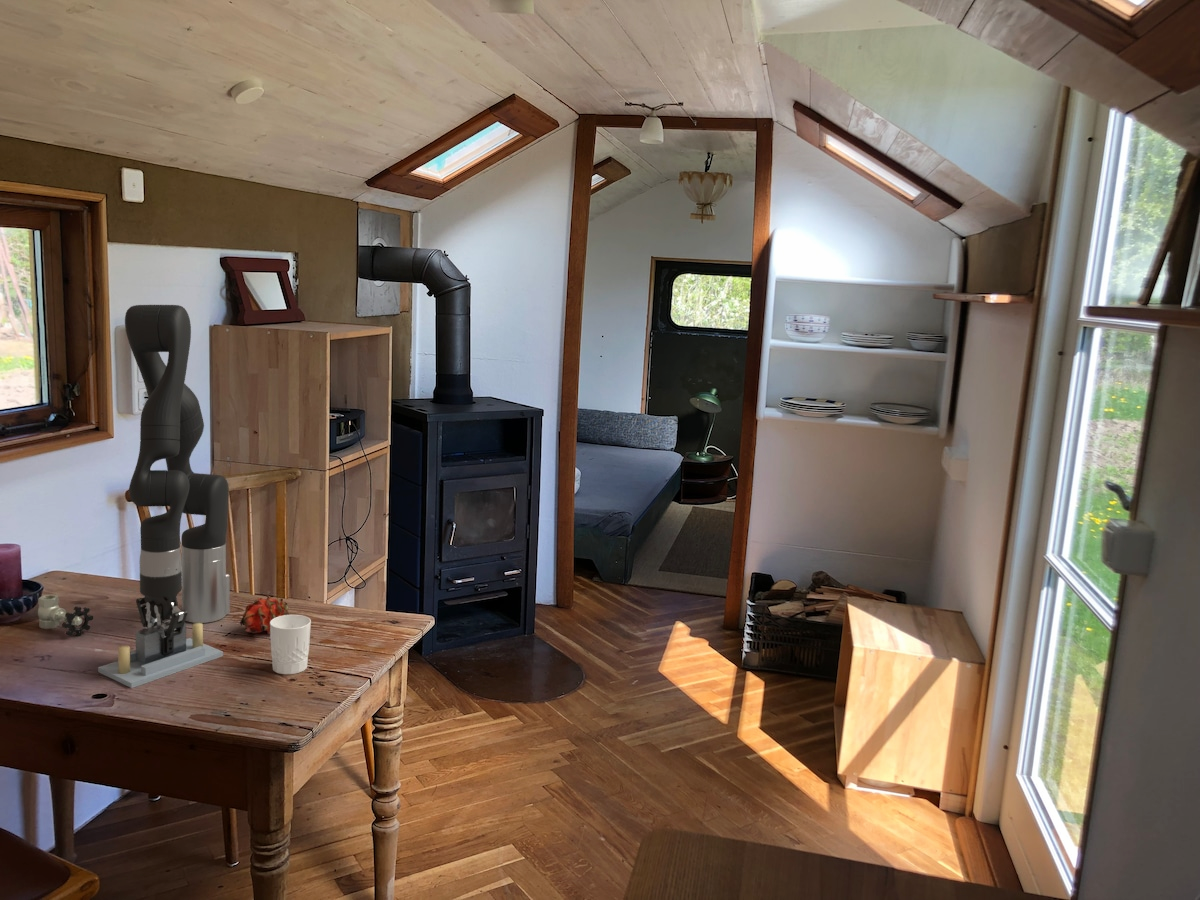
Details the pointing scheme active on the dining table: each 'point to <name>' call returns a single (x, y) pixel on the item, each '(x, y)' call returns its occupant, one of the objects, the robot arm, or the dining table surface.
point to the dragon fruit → (263, 614)
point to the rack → (159, 661)
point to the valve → (61, 616)
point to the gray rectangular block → (156, 644)
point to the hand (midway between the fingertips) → (161, 651)
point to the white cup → (290, 643)
